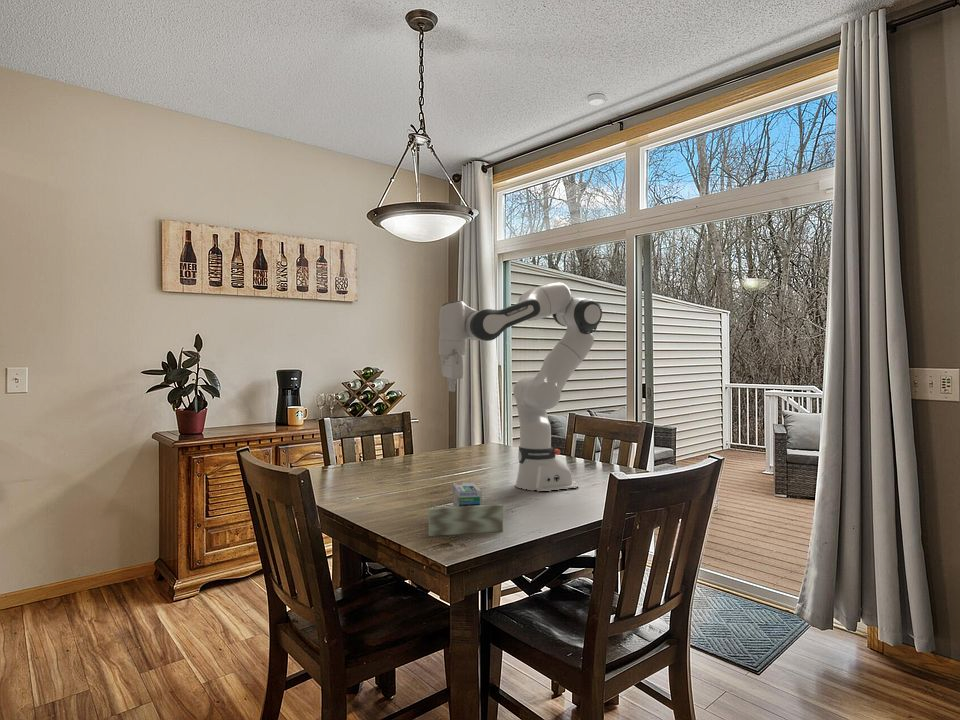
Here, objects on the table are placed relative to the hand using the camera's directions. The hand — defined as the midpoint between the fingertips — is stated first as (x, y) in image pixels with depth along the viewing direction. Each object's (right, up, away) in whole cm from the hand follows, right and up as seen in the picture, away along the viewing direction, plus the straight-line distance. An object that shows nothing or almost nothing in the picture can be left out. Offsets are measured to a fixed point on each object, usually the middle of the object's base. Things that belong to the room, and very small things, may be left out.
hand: (451, 391), depth 193 cm
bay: (+4, -36, -31) cm, 47 cm away
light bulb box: (+6, -36, -30) cm, 47 cm away
